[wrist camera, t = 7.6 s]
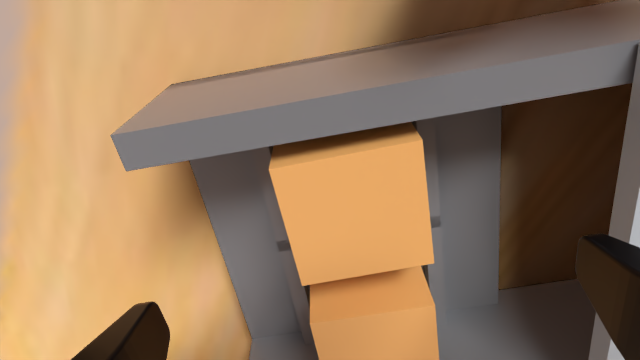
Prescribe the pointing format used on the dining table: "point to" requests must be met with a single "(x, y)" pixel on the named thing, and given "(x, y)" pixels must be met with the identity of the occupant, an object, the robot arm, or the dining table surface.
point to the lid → (624, 208)
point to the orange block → (375, 317)
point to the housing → (440, 164)
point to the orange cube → (354, 202)
